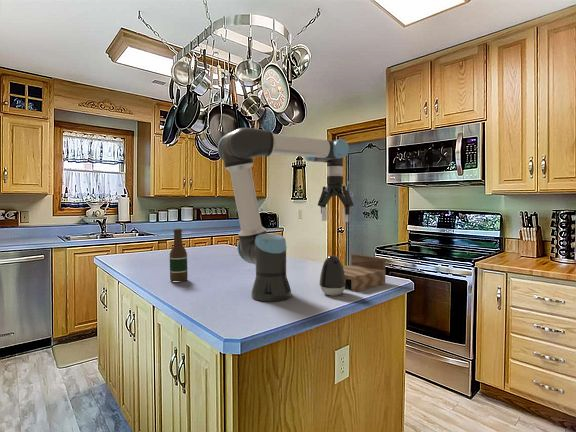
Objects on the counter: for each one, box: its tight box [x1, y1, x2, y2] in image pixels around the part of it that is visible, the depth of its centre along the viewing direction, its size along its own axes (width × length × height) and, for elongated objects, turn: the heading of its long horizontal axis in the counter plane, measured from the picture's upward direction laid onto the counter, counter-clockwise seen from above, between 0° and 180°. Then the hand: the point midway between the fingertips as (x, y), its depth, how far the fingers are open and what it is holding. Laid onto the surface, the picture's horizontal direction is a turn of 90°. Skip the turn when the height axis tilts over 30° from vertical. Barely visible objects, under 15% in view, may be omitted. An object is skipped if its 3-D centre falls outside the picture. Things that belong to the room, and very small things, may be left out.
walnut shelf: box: [342, 253, 386, 293], centre depth 154 cm, size 20×18×11 cm
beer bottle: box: [169, 228, 189, 282], centre depth 165 cm, size 8×8×24 cm
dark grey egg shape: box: [319, 254, 347, 297], centre depth 138 cm, size 10×10×15 cm
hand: (334, 221), depth 167 cm, fingers open, 13 cm apart
